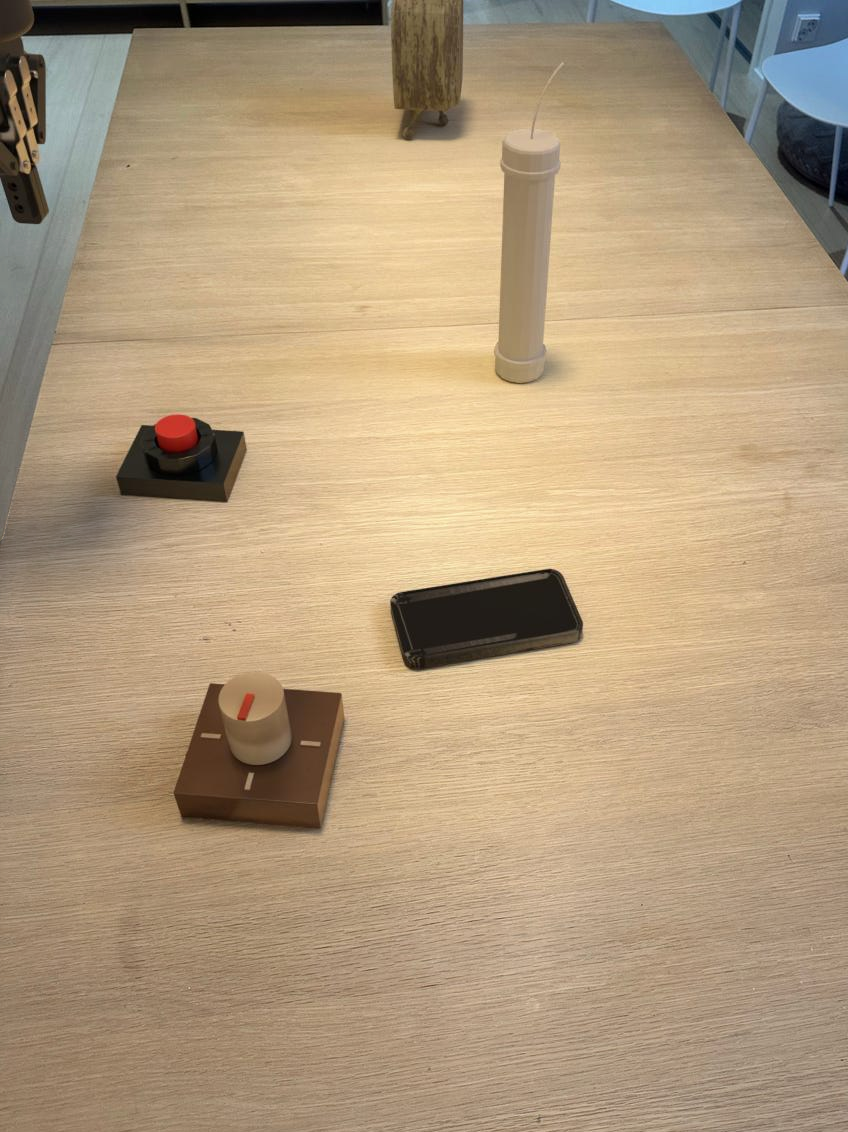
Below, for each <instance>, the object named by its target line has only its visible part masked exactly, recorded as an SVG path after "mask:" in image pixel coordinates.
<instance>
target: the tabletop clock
mask: <svg viewBox="0 0 848 1132" xmlns="http://www.w3.org/2000/svg"><path fill="white" fill-rule="evenodd" d="M390 37H391V39H390V40H391V41H390V42H391V69H392V71H391V72H392V90H393V91H392V93H393V106H394V109H395V110H412V113H411V117H410V119H409V124H408V126H405V127H404V128H403V129H402V135H403V137H404V138H405V139H407V140H409V139H411V138H413V137H414V135H415V131H414V128H413V127H414V125H415V124H416V121H417V120H418V117H419V115H420V114H421V113H423V111H436V112H437V111H438V113H439V115H438V116H437V122H438V124H439V125H440V126H442V127H444V126H446V125H448V124H449V116H448V115H447V114H445V113H444V112H446V111H448V110H451V109H452V108H454V107H457V106H458V105H459V104H460V102H461V95H462V88H463V87H462V85H463V76H464V75H463V71H464V0H391V8H390Z"/></svg>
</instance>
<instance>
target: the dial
mask: <svg viewBox="0 0 848 1132" xmlns="http://www.w3.org/2000/svg"><path fill="white" fill-rule="evenodd" d="M224 684H225V685H224V686H223V688H222V689H221V691H220V694H219V698H218V703H219V707H220V711H221V715H222V719H223V723H224V727H225V731H226V734H227V738H228V742H229V746H230V750H231V752H232V754H233V755H234V756H235V757H236V758H237V759H238V760H240V761H241V762H244V763H246V764H250V765H263V764H268V763H271V762H273V761H275V760H277V759H279V758H280V757H281V756H283V755H284V754H285V753H286V751H287V750H288V748H289V746H290V744H291V740H292V735H291V729H290V723H289V718H288V712H287V707H286V701H285V696H284V691H283V689H284V687H283V685H282V683H281V682H280V681H279V679H277V678H276V677H275V676H273V675H271V674H269V673H267V672H262V671H249V672H248V671H247V672H243V673H240V674H237V675H236V676H234V677H232V678H231V679H229V680H228V681H226V683H224Z"/></svg>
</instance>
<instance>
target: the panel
mask: <svg viewBox="0 0 848 1132" xmlns="http://www.w3.org/2000/svg"><path fill="white" fill-rule="evenodd" d="M225 684H226V683H214V682H210V683H209V685H208V688H207V691H206V694H205V696H204V699H203V702H202V706H201V709H200V712H199V715H198V717H197V722H196V724H195V726H194V730H193V733H192V736H191V739H190V741H189V745H188V748H187V751H186V754H185V756H184V760H183V763H182V766H181V769H180V772H179V775H178V778H177V781H176V784H175V787H174V790H173V793H172V794H173V797H174V800H175V802H176V804H177V805H176V806H177V808H178V811H179V814H180V817H181V818H187V817H188V818H189V819H199V818H202V819H201V820H212V819H214V821H224V820H225V821H224V822H226V821H227V822H237V823H249V822H250V824H251V823H252V824H263V825H264V824H265V825H274V824H275V826H287V825H288V826H287V827H299V826H301V828H312V829H313V828H314V829H321V828H322V825H323V820H324V817H325V812H326V808H327V807H326V806H327V802H328V798H329V793H330V788H331V783H332V778H333V775H334V769H335V764H336V760H337V755H338V751H339V746H340V740H341V736H342V732H343V728H344V723H343V722H345V710H344V709H345V708H344V701H343V694H342V692H334V691H333V692H332V691H320V690H308V689H307V690H306V689H295V688H283V691H284V696H285V701H286V707H287V712H288V718H289V723H290V729H291V735H292V740H291V744H290V746H289V748H288V750H287V751H286V753H285V754H284V755H283V756H281V757H280V758H279V759H277V760H275V761H273V762H271V763H268V764H263V765H250V764H246V763H244V762H241V761H240V760H238V759H237V758H236V757H235V756H234V755H233V754H232V752H231V750H230V746H229V742H228V738H227V734H226V731H225V727H224V723H223V719H222V715H221V711H220V707H219V703H218V698H219V694H220V691H221V689H222V688H223V686H224V685H225ZM238 821H240V822H238ZM276 824H277V825H276Z"/></svg>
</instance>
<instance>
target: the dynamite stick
mask: <svg viewBox="0 0 848 1132" xmlns="http://www.w3.org/2000/svg"><path fill="white" fill-rule="evenodd" d="M564 65H565V62H564V61H561V63H560V64H559V65H558V66H557V67H556V69H555V70H554V72H552V74H551V76H550V77H549V79H548V81H547V82H546V84H545V86H544V88H543V89H542V92H541V95H540V97H539V99H538V102H537V105H536V108H535V112H534V115H533V119H532V124H531V127H530V128H520V129H515V130H512V131H510V132H508V133H506V134H505V136H504V137H503V139H502V145H501V146H502V147H501V158H500V160H499V161H500V162H499V167H500V171H502V172H503V173H504V174H503V178H504V179H503V199H502V201H503V202H502V204H503V205H502V228H501V229H502V230H501V231H502V232H501V256H500V259H501V260H500V286H499V311H498V312H499V313H498V341H497V342H496V344H495V346H494V347H493V353H494V357H495V358H494V368H495V372H496V374H497V375H498V376H499V377H500V378H501V379H503V380H506V381H507V382H510V383H518V384H522V383H524V384H525V383H530V382H533V381H536V380H538V379H539V378H540V377H541V376H542V375H543V372H544V370H545V362H546V361H545V360H546V357H547V353H548V352H547V348H546V345H545V344H544V337H545V335H544V334H545V323H546V312H547V311H546V309H547V296H548V281H549V267H550V251H551V239H552V226H553V223H552V222H553V212H554V197H555V196H554V195H555V183H556V182H555V181H556V175H557V174H559V171H560V169H561V160H560V155H561V142H560V139H559V136H557V134H556V135H555V133H553V132H551V131H548V130H544V129H540V128H535V126H536V125H535V124H536V120H537V116H538V112H539V110H540V106H541V103H542V100H543V98H544V96H545V93H546V91H547V89H548V87H549V85H550V83H551V82H552V81H553V79H554V77H555V76H556V74H557V73H558V72H559V70H560V69H561V68H562V67H563V66H564Z"/></svg>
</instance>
